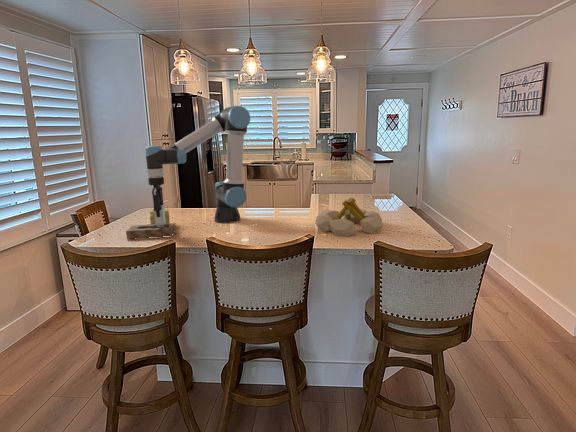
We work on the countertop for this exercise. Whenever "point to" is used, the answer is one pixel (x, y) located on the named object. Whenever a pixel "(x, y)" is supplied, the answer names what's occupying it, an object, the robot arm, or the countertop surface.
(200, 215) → the countertop surface
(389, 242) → the countertop surface
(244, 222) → the countertop surface
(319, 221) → the campfire
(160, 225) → the peg
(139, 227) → the keyhole plate
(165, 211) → the cheese
